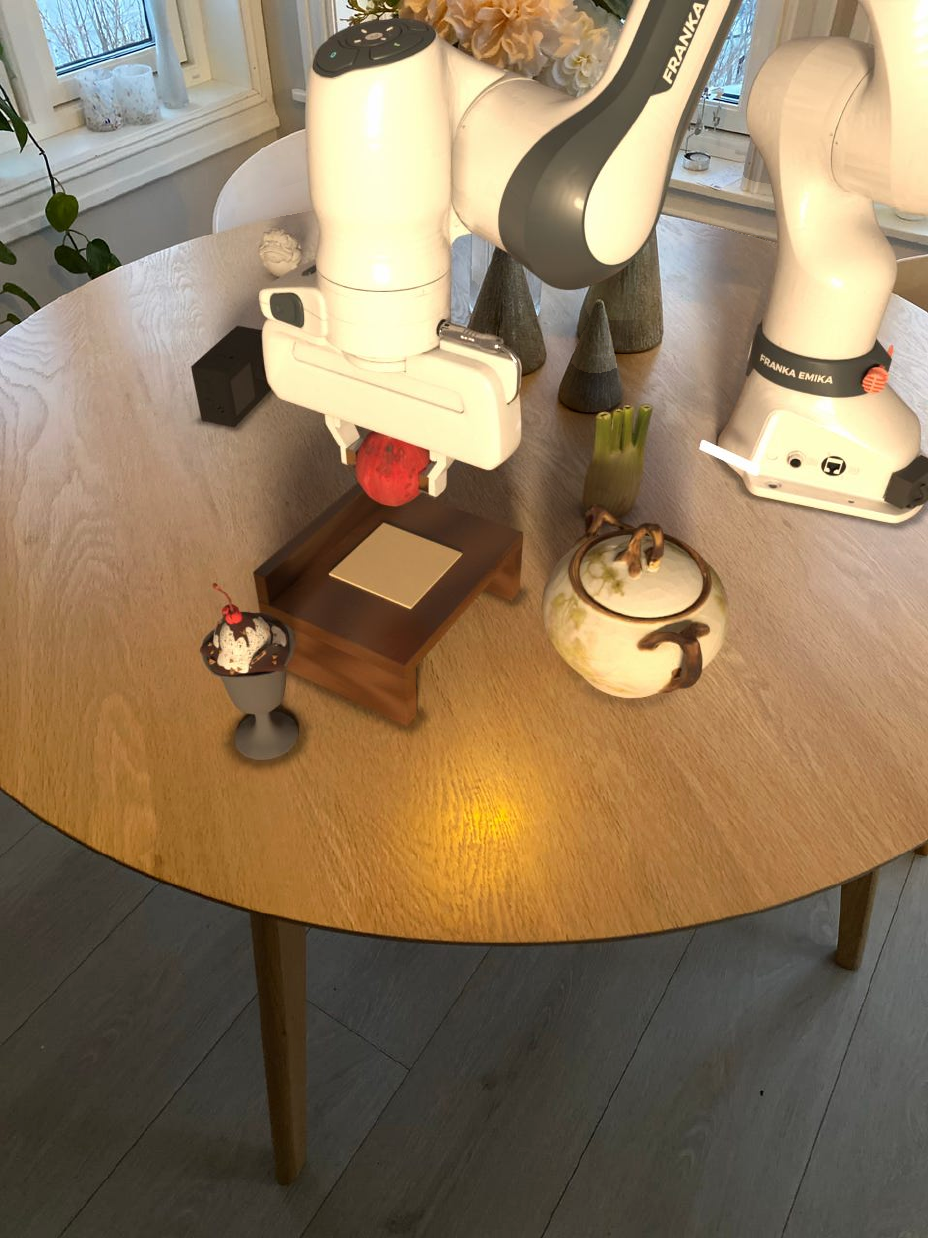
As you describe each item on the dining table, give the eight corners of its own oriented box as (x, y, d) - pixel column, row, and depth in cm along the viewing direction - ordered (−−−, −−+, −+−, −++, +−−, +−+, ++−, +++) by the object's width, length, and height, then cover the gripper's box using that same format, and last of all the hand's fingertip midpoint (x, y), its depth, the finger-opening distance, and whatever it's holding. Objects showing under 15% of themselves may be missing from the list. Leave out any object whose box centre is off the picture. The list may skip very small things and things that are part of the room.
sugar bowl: (761, 729, 76) (810, 588, 66) (588, 773, 73) (612, 631, 63) (653, 575, 90) (680, 438, 80) (503, 606, 87) (511, 467, 77)
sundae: (226, 706, 77) (193, 564, 67) (310, 702, 78) (290, 560, 68) (218, 771, 73) (181, 629, 62) (307, 766, 73) (285, 624, 63)
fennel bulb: (636, 500, 99) (654, 397, 91) (638, 529, 95) (656, 424, 87) (580, 496, 99) (592, 393, 91) (579, 525, 96) (592, 420, 87)
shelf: (519, 592, 88) (526, 503, 81) (407, 727, 76) (403, 637, 69) (392, 542, 93) (388, 455, 86) (268, 661, 81) (252, 571, 74)
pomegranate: (421, 532, 73) (420, 442, 68) (349, 521, 74) (342, 432, 69) (438, 488, 77) (438, 401, 72) (369, 479, 78) (364, 392, 73)
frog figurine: (255, 285, 135) (248, 235, 130) (270, 264, 140) (264, 216, 135) (296, 288, 134) (291, 239, 130) (310, 268, 139) (306, 219, 135)
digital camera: (244, 430, 107) (234, 374, 103) (201, 421, 109) (190, 365, 104) (285, 386, 115) (279, 331, 110) (245, 378, 116) (236, 324, 111)
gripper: (544, 324, 63) (531, 497, 72) (295, 256, 70) (312, 420, 79) (498, 364, 59) (490, 542, 68) (238, 287, 66) (264, 457, 75)
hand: (393, 476), depth 74 cm, fingers closed on pomegranate, 6 cm apart
